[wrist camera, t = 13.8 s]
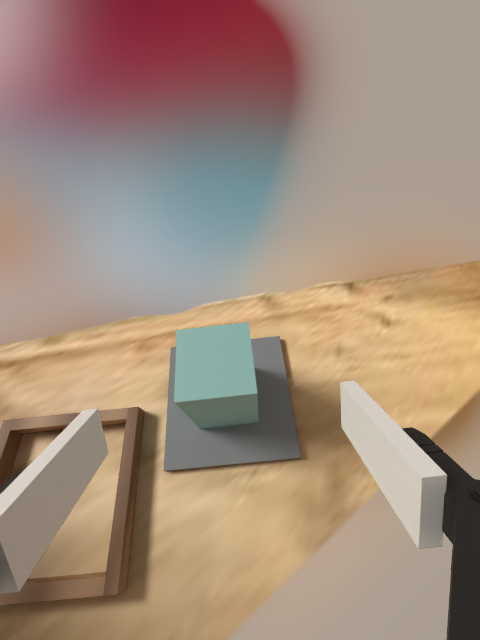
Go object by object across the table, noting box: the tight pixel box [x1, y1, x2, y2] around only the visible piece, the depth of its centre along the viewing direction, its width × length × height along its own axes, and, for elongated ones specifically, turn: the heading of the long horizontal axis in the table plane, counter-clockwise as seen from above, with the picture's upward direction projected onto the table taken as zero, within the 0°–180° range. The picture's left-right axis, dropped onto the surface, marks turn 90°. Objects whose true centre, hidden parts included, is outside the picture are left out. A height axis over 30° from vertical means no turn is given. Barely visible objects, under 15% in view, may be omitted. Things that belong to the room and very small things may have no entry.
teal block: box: [174, 322, 259, 429], centre depth 23 cm, size 6×6×9 cm
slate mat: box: [164, 336, 301, 471], centre depth 28 cm, size 12×12×1 cm
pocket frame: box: [0, 407, 144, 605], centre depth 24 cm, size 13×13×2 cm
